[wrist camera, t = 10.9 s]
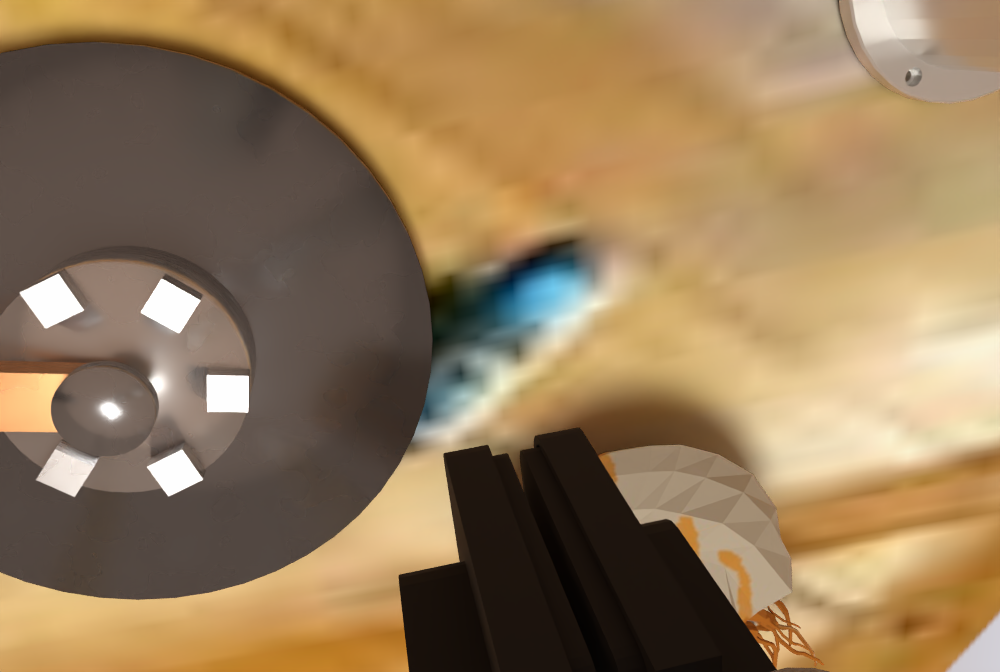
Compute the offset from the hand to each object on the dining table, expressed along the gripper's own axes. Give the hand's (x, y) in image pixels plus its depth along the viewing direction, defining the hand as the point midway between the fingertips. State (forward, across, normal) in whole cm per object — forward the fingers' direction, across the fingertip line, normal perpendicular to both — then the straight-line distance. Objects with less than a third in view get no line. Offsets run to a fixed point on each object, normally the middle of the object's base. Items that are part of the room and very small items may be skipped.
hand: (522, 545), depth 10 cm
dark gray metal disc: (+29, +12, +6) cm, 32 cm away
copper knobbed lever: (+27, +16, +5) cm, 32 cm away
